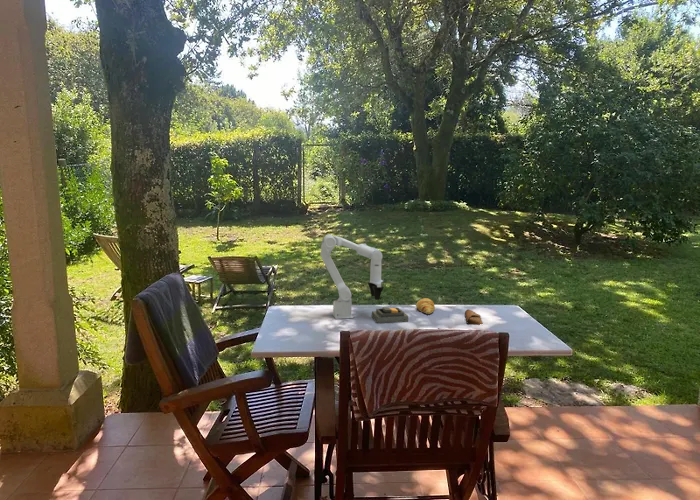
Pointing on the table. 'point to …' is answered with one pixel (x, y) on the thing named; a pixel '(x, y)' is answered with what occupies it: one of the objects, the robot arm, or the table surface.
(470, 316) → the brown pointed cylinder
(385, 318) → the breaker box
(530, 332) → the table surface
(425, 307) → the croissant
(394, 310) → the breaker switch
